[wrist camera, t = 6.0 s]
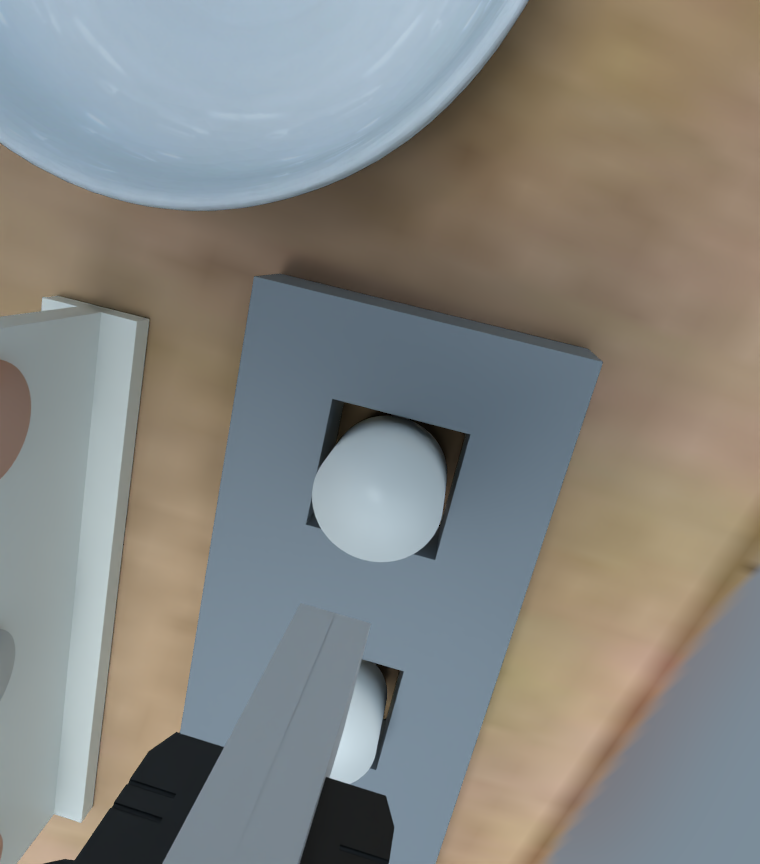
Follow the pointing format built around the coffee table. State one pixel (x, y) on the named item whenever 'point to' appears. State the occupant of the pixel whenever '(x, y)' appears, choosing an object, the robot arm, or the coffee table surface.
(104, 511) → the pattern card
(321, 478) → the button
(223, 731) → the button board
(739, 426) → the coffee table surface
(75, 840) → the coffee table surface
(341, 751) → the button middle
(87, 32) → the serving bowl
